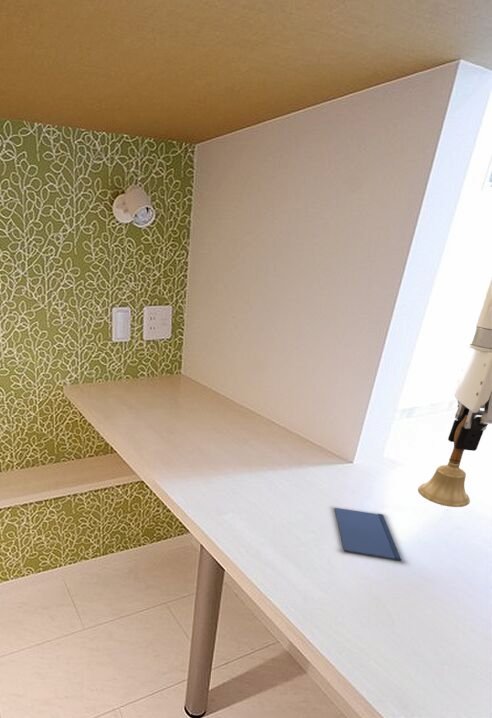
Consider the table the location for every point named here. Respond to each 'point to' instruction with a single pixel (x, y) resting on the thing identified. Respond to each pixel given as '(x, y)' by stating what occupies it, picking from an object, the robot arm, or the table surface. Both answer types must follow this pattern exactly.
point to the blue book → (366, 534)
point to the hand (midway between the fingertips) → (461, 444)
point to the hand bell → (448, 480)
